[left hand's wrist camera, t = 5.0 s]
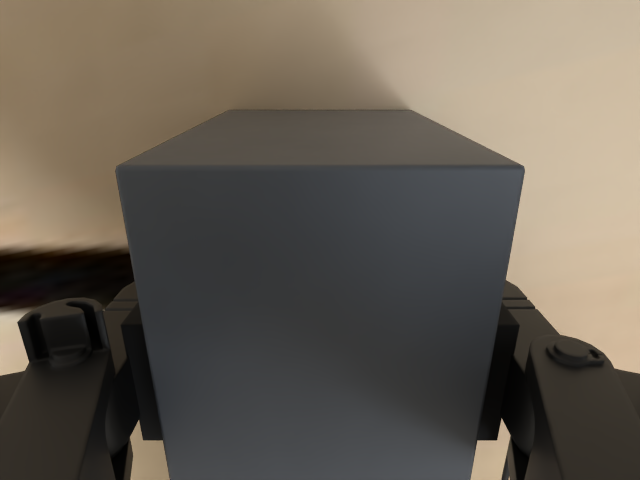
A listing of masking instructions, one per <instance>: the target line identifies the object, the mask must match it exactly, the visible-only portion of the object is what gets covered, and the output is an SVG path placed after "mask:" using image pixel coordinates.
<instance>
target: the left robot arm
mask: <svg viewBox="0 0 640 480" xmlns="http://www.w3.org/2000/svg"><path fill="white" fill-rule="evenodd" d="M113 300H114V301H113V302H111V303H110V304H109V305H108V306H107V307H106V308H105V311H103V310H102V305H101V304H100V303H99V302H97V301H96V300H93V299H88V298H68V299H64V300H59V301H54V302H51V303H48V304H45V305H43V306H40V307H37V308H36V309H34V310H32V311H30V312H29V313H27V314H25V315H24V316H23V317H22V318H21V319H20V320H19V321H18V322H17V323H18V326H19V329H20V333H21V336H22V339H23V343H24V346H25V349H26V353H27V356H28V359H29V364H28V366H27V368H26V370H25V371H22V372H18V373H12V374H7V375H2V376H0V480H130V477H131V469H132V461H133V452H132V446H131V441H130V436H131V434H132V432H133V430H134V428H135V426H136V424H137V422H138V420H139V421H140V426H141V431H142V436H143V440H163V437H162V432H161V426H160V420H159V415H158V409H157V404H156V398H155V392H154V387H153V381H152V375H151V370H150V364H149V358H148V353H147V347H146V341H145V336H144V330H143V324H142V319H141V313H140V307H139V302H138V296H137V290H136V285H135V282H133V283H131V284H130V285H128V286H126V287H124V288H123V289H122V290H121V291H120V292H119V294H118V295H117V296H116V297H115V298H114V299H113ZM501 418H502V419H503V421H504V423H505V425H506V427H507V429H508V431H509V433H510V435H511V436H510V441H509V446H508V451H507V455H506V460H505V465H504V469H503V474H502V480H508V478H509V476H510V480H640V374H638V373H633V372H628V371H622V370H618V369H614V367H613V365H612V363H611V361H610V360H609V359H608V358H607V357H606V355H605V354H604V353H603V352H601V351H600V350H598V349H597V348H595V347H594V346H592V345H591V344H588V343H586V342H583V341H581V340H579V339H576V338H572V337H567V336H563V335H560V334H559V333H558V332H557V331H556V330H555V329H554V328H553V326H552V325H551V324H550V323H549V322H548V321H547V320H546V319H545V317H544V316H543V315H542V314H541V313H540V312H539V311H538V310H537V309H535V306H534V305H533V304H532V303H531V302H530V301H529V300H527V297H526V296H525V295H524V294H523V293H522V291H521V290H520V289H519V288H518V287H517V286H515V285H513V284H512V283H510V282H508V281H506V280H505V286H504V292H503V297H502V303H501V309H500V314H499V320H498V326H497V331H496V337H495V343H494V348H493V354H492V360H491V365H490V371H489V377H488V382H487V388H486V394H485V399H484V405H483V410H482V416H481V422H480V427H479V433H478V439H477V440H497V438H498V433H499V428H500V423H501Z"/></svg>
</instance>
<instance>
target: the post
mask: <svg viewBox="0 0 640 480" xmlns="http://www.w3.org/2000/svg"><path fill="white" fill-rule="evenodd" d="M115 172H116V177H117V183H118V189H119V194H120V200H121V205H122V211H123V217H124V222H125V228H126V234H127V239H128V245H129V251H130V256H131V262H132V268H133V273H134V279H135V285H136V290H137V296H138V302H139V307H140V313H141V319H142V324H143V330H144V336H145V341H146V347H147V353H148V358H149V364H150V370H151V375H152V381H153V387H154V392H155V398H156V404H157V409H158V415H159V420H160V426H161V432H162V437H163V443H164V449H165V454H166V460H167V466H168V471H169V477H170V480H470V478H471V473H472V467H473V461H474V456H475V450H476V444H477V439H478V433H479V427H480V422H481V416H482V410H483V405H484V399H485V394H486V388H487V382H488V377H489V371H490V365H491V360H492V354H493V348H494V343H495V337H496V331H497V326H498V320H499V314H500V309H501V303H502V297H503V292H504V286H505V280H506V275H507V269H508V263H509V258H510V252H511V246H512V241H513V235H514V229H515V224H516V218H517V212H518V207H519V201H520V196H521V190H522V184H523V179H524V173H525V169H524V166H522V165H520V164H518V163H516V162H514V161H512V160H510V159H508V158H506V157H504V156H502V155H500V154H498V153H496V152H494V151H492V150H490V149H488V148H486V147H484V146H482V145H480V144H478V143H476V142H474V141H472V140H470V139H468V138H466V137H464V136H462V135H460V134H458V133H456V132H454V131H452V130H450V129H448V128H446V127H444V126H442V125H440V124H438V123H436V122H434V121H432V120H430V119H428V118H426V117H424V116H422V115H420V114H418V113H416V112H414V111H412V110H228V111H226V112H224V113H222V114H220V115H218V116H216V117H214V118H212V119H210V120H208V121H206V122H204V123H202V124H200V125H198V126H196V127H194V128H192V129H190V130H188V131H186V132H184V133H182V134H180V135H178V136H176V137H174V138H172V139H170V140H168V141H166V142H164V143H162V144H160V145H158V146H156V147H154V148H152V149H150V150H148V151H146V152H144V153H142V154H140V155H138V156H136V157H134V158H132V159H130V160H128V161H126V162H124V163H122V164H120V165H118V166H116V171H115Z"/></svg>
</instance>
